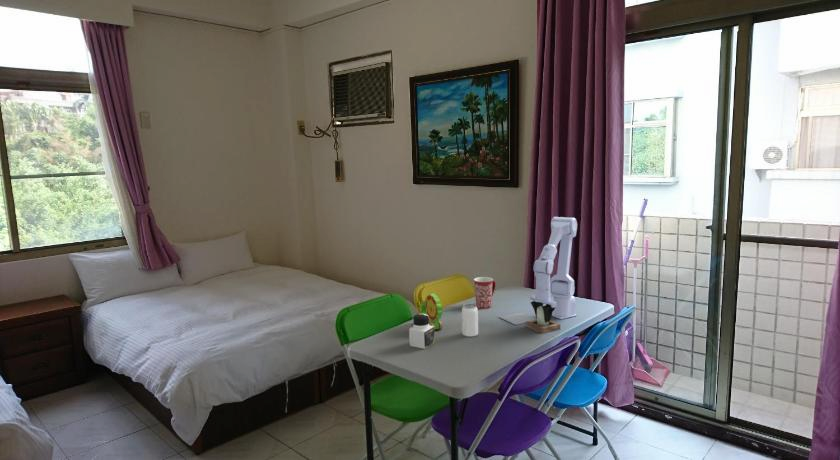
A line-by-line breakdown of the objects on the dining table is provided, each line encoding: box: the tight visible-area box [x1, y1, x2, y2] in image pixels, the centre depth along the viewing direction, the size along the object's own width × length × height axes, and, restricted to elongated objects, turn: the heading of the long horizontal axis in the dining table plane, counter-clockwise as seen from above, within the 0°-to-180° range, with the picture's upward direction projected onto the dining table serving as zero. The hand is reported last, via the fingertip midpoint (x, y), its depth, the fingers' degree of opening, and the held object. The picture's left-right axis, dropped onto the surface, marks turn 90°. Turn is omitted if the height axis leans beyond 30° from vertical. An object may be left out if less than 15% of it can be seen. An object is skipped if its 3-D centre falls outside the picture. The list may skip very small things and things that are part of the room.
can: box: [461, 303, 479, 338], centre depth 211 cm, size 6×6×12 cm
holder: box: [525, 318, 561, 334], centre depth 217 cm, size 10×10×2 cm
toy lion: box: [420, 293, 444, 331], centre depth 220 cm, size 16×6×15 cm, turn 27°
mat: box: [498, 311, 537, 326], centre depth 228 cm, size 12×12×1 cm
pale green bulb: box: [536, 306, 549, 327], centre depth 216 cm, size 5×5×8 cm
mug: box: [473, 276, 496, 310], centre depth 248 cm, size 13×9×14 cm
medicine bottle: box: [408, 313, 435, 350], centre depth 201 cm, size 7×7×12 cm
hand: (543, 319), depth 216 cm, fingers closed on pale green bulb, 5 cm apart
